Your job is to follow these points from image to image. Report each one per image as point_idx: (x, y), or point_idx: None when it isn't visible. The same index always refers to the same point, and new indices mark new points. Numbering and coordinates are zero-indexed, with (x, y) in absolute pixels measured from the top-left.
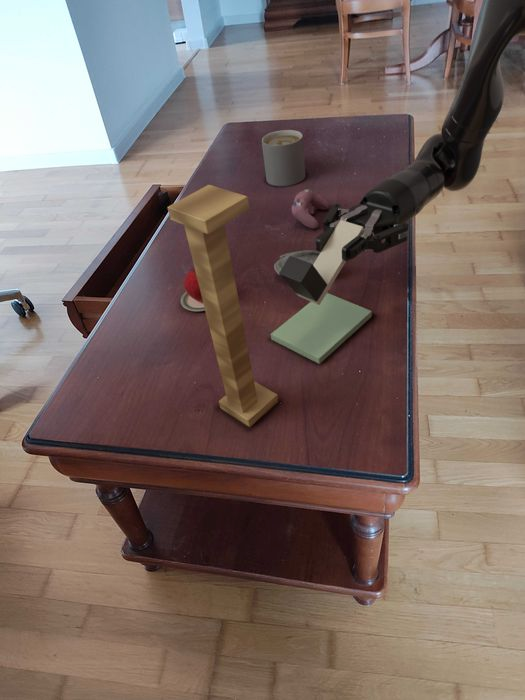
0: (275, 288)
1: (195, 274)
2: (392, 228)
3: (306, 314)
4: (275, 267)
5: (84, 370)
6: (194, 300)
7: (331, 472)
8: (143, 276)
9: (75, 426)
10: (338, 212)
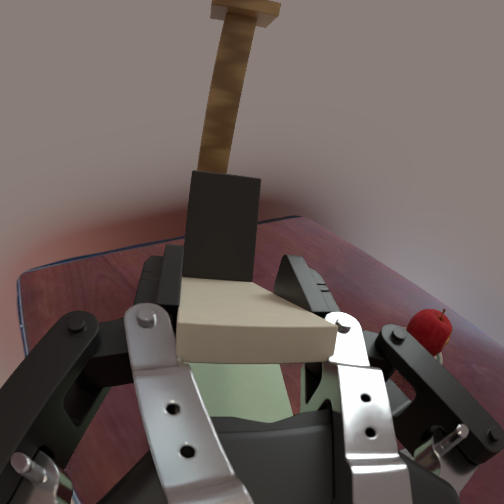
0: None
1: (437, 315)
2: (23, 419)
3: (273, 417)
4: None
5: (353, 250)
6: None
7: (79, 257)
8: (476, 333)
9: (294, 225)
10: (449, 432)
